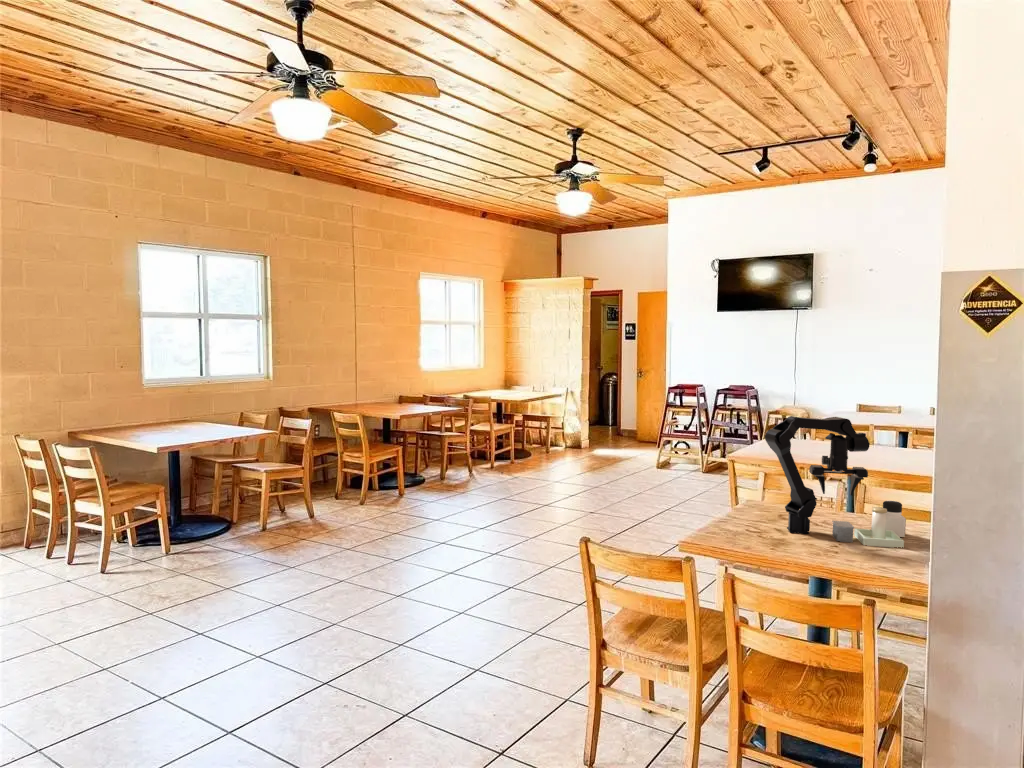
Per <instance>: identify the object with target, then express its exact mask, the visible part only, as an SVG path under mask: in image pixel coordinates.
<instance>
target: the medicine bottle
mask: <svg viewBox="0 0 1024 768" xmlns="http://www.w3.org/2000/svg"><path fill="white" fill-rule="evenodd" d="M882 508H886V509H887V515H886V530H887V531H893V532H895V533H896V534H897V535H898V536H899V537H905V538H906V525H907V523H906V521H907V519H906V517H904V515H902V514H903V513H902V512H903V504H902V502H900V501H897V500H885V501H883V502H882Z"/></svg>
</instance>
